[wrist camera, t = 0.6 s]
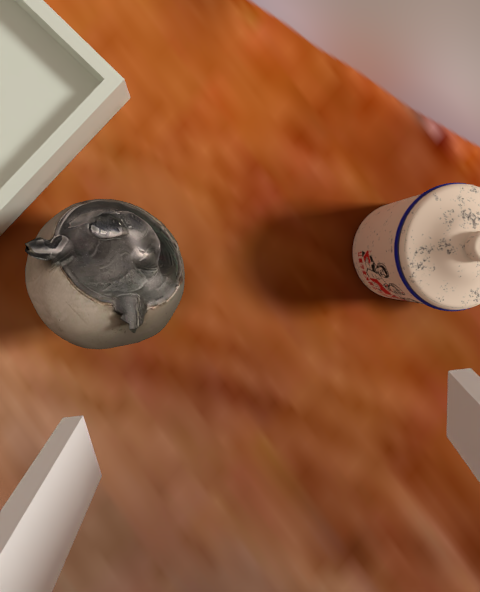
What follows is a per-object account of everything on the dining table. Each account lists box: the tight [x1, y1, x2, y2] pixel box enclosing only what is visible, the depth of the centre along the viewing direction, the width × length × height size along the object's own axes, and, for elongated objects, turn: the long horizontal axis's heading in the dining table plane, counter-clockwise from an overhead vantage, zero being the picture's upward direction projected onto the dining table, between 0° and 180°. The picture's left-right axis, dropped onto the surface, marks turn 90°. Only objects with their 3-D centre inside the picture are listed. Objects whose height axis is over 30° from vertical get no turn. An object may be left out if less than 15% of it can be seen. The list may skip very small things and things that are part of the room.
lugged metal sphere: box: [25, 199, 184, 349], centre depth 29 cm, size 10×12×10 cm
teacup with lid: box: [353, 183, 480, 311], centre depth 33 cm, size 12×9×12 cm
